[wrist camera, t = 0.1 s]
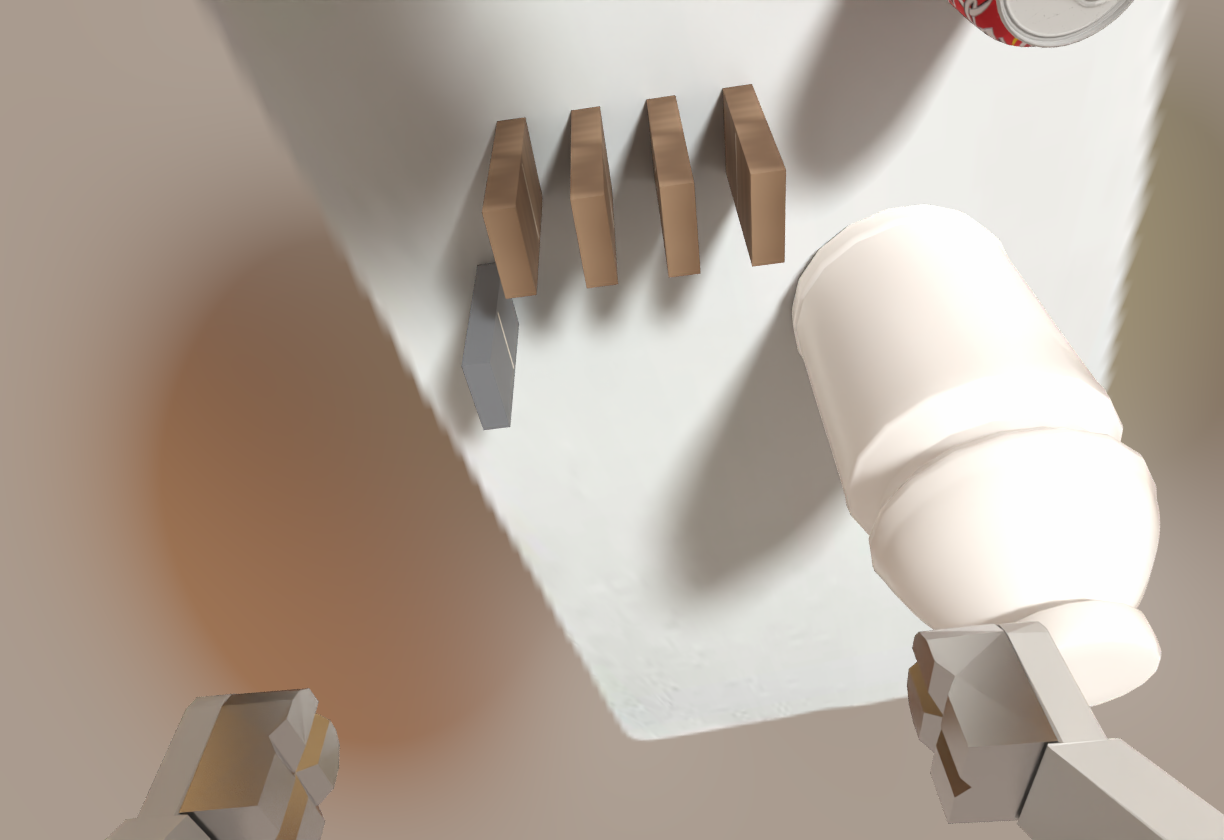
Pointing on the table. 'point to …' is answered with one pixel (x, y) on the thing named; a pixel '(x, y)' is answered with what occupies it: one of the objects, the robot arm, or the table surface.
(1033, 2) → the soda can
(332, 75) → the table surface
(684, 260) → the domino
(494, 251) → the domino
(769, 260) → the domino
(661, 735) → the table surface
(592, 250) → the domino
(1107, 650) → the bottle
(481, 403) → the end domino
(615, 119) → the table surface
